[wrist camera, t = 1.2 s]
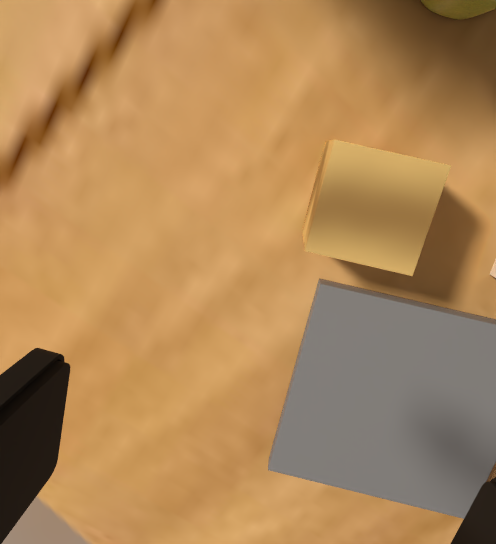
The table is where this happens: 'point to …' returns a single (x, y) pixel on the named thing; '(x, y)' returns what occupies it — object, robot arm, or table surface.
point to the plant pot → (460, 7)
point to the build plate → (391, 400)
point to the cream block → (493, 270)
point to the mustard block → (372, 206)
